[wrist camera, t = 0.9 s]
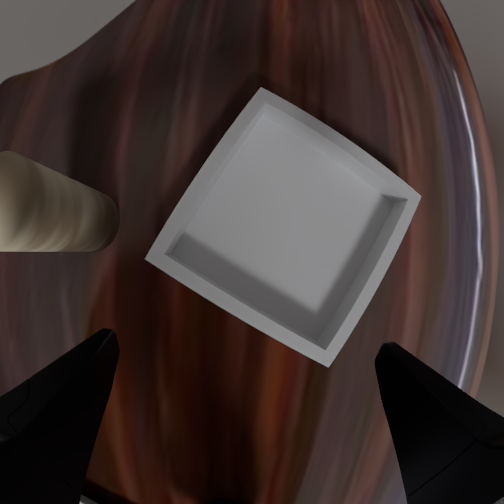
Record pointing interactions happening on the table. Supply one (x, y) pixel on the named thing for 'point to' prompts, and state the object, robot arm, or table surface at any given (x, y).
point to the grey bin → (287, 227)
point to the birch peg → (51, 210)
